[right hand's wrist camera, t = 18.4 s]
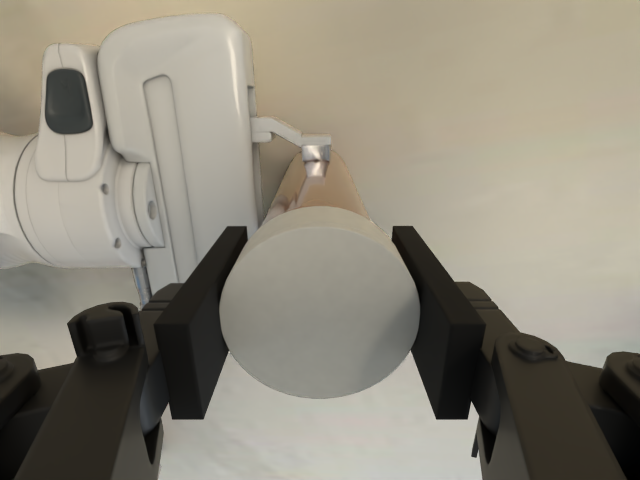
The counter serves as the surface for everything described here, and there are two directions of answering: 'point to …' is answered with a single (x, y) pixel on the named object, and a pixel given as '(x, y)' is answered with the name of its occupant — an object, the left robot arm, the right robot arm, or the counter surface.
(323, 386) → the lid
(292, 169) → the tan brown cylinder
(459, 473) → the counter surface
